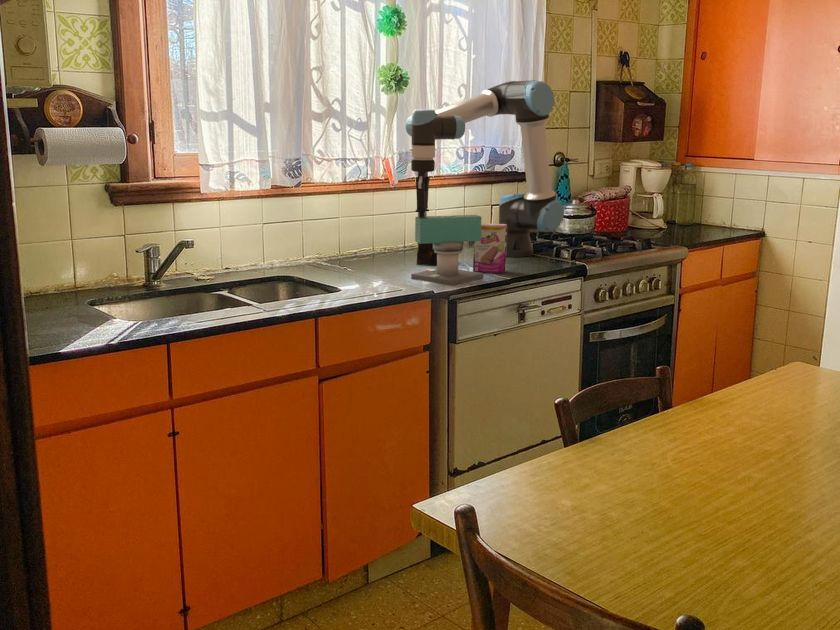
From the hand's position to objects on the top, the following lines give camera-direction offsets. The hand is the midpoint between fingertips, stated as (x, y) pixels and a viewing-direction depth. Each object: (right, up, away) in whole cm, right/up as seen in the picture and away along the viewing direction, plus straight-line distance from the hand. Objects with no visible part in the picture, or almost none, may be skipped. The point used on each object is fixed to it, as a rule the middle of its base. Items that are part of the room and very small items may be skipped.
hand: (421, 231), depth 276 cm
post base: (+8, -15, +2) cm, 17 cm away
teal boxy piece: (+8, -6, -1) cm, 10 cm away
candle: (+5, -9, +28) cm, 29 cm away
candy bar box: (+23, -13, +13) cm, 29 cm away
